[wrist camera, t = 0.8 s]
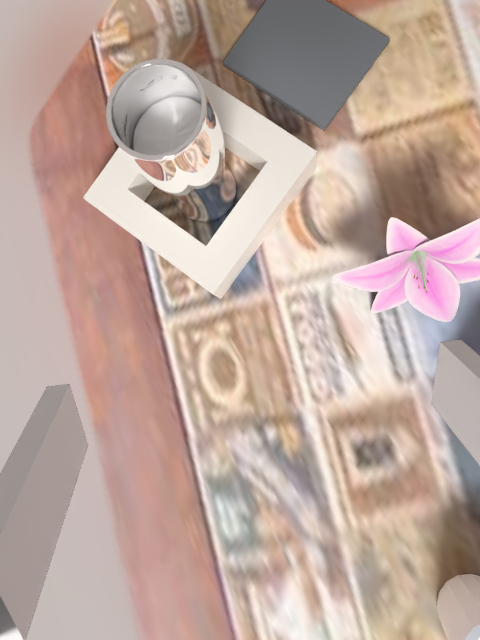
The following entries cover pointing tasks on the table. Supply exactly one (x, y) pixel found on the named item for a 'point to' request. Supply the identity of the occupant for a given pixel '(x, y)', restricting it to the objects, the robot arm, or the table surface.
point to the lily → (420, 270)
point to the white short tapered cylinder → (460, 607)
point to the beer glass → (172, 136)
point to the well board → (246, 217)
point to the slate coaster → (306, 55)
